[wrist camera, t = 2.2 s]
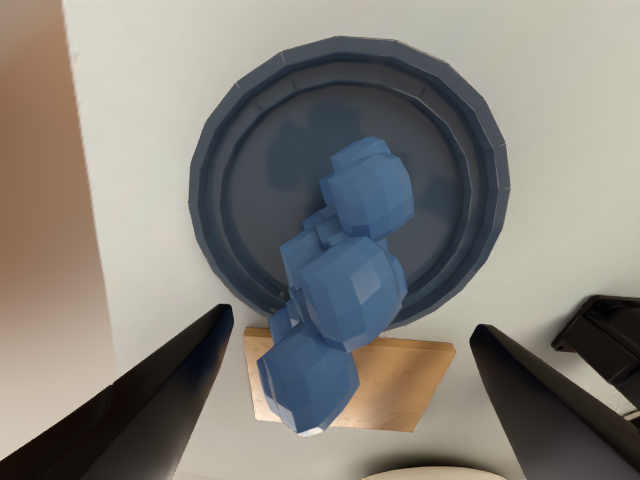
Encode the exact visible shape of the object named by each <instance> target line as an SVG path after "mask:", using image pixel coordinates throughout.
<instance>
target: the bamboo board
mask: <svg viewBox="0 0 640 480" xmlns="http://www.w3.org/2000/svg"><path fill="white" fill-rule="evenodd" d="M243 338H244V345H245V352H246V358H247V365H248V371H249V378H250V384H251V391H252V397H253V404H254V411H255V417H256V420H267V421H279V422H282V420H281V418H280V417H279V416H277V415H276V414H275V413H273V412H272V411H270V408H269V406H268V403H267V400H266V398H265V395H264V392H263V388H262V385H261V381H260V377H259V372H258V367H257V362H256V361H257V360H258V359H259V358H260V357H261V356H263V355H264V354H265V353H266V352H267V351H268V350H269V349H271V348H272V347H273V346H274V343H273V339H272V335H271V332H270V329H261V328H249V327H246V330H245V332H244V335H243ZM351 352H352V355H353V358H354V361H355V364H356V367H357V372H358V376H359V381H360V386H359V387H358V389H357V390H356V392H355V394H354V395H353V397H352V398H351V400H350V401H349V403H348V404H347V406H346V407H345V408H344V410H343V411H342V412H341V413H340V414H339V416H338V417H337V418H336V419H335V420H334V421H333V422H332V423H331V424H330V425H329V426H340V427H353V428H365V429H377V430H389V431H402V432H413V430H414V428H415V427H416V425H417V423H418V421H419V419H420V417H421V416H422V414H423V412H424V410H425V408H426V407H427V405H428V403H429V401H430V399H431V397H432V396H433V394H434V392H435V390H436V388H437V387H438V385H439V383H440V381H441V379H442V377H443V376H444V374H445V372H446V370H447V368H448V367H449V365H450V363H451V361H452V359H453V357H454V356H455V354H456V351H455V349H454V347H453V345H452V344H451V343H441V342H428V341H415V340H402V339H390V338H377V337H376V338H375V339H374V340H373V341H372V342H371V343H369V344H367V345H365V346H362V347H360V348H358V349H355V350H353V351H351Z"/></svg>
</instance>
